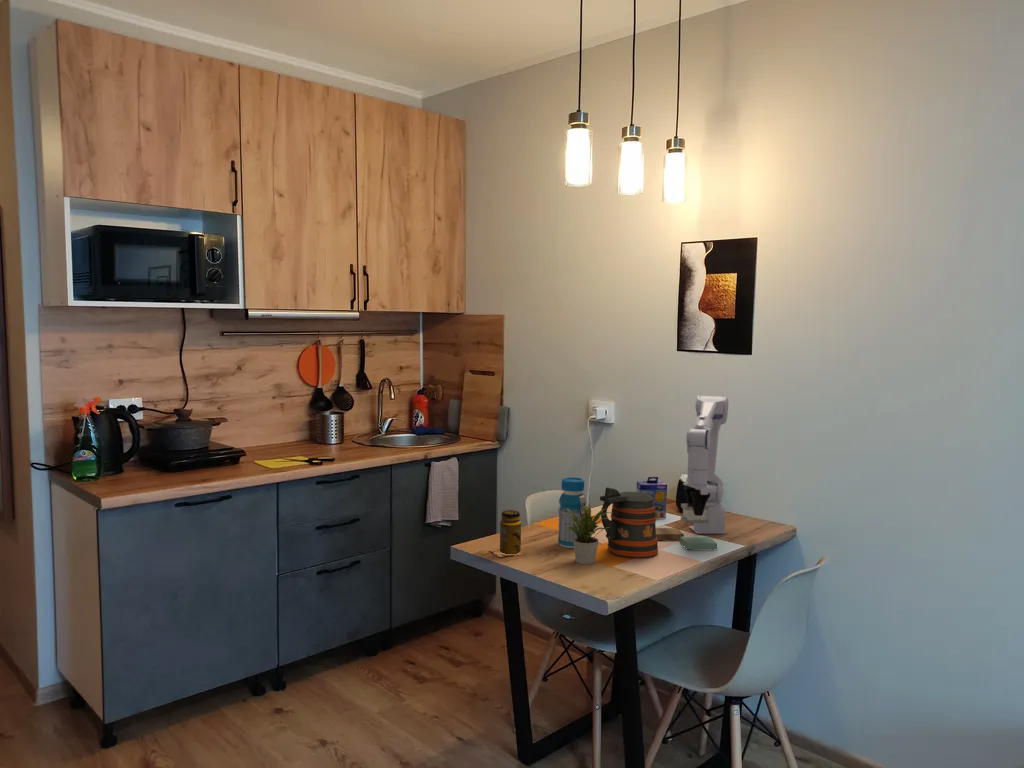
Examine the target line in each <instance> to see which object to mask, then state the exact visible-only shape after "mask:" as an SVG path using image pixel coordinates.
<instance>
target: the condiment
mask: <svg viewBox="0 0 1024 768" xmlns="http://www.w3.org/2000/svg"><path fill="white" fill-rule="evenodd" d="M500 518H501V520H500V525H499V549H500V551H501V552H502V553H505V554H517V553H519V552H520V551H521V550H522V549H521V548H522V546H521V545H522V541H521V540H522V539H521V538H522V537H521V536H522V534H521V533H522V521H521V513H520V512H519V511H518V510H513V509H510V510H509V509H506V510H503V511H502V512H501V517H500Z"/></svg>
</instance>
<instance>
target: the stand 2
mask: <svg viewBox="0 0 1024 768" xmlns="http://www.w3.org/2000/svg"><path fill="white" fill-rule="evenodd" d="M679 543H681V544H682V545H683V546H682V545H681V544H680V545H681V546H682V547H684V546H685V547H686V548H687V549H717V550H718V542H717V541H715V540H714V539H713V538H711V536H684V537H680V540H679ZM685 547H684V548H685ZM686 548H685V549H686ZM687 549H686V550H687Z"/></svg>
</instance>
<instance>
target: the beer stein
mask: <svg viewBox="0 0 1024 768" xmlns="http://www.w3.org/2000/svg"><path fill="white" fill-rule="evenodd" d="M653 500H654V499H653V497H651V495H650V492H648V493H640V492H636V491H621V492H619V491H618V490H617V489H616V488H612V487H605V490H604V495H600V496H599V501H601V502H603V504H602V507H601V510H603V509H605V508H607V509H605V510H604V511H603V512H604V513H606V512H608V508H609V507H610V505H612V506H611V507H612V508H611V511H610V512H614V513H610V519H609V518H608V513H606V514H604V513H602V514H604V515H602V514H601V515H602V516H601V515H600V516H601V517H600V520H601V519H602V520H601V524H602V526H603V528H605V529H606V530H605V529H604V530H605V532H606V534H605V537H606V539H607V542H608V543H607V551H609V553H612V554H614V555H617V556H619V557H625V558H629V559H631V558H633V559H639V558H642V559H643V558H650V557H654V556H656V555H657V554H658V552H659V550H658V549H659V547H658V543H659V541H658V540H657V536H656V528H657V527H656V523H657V519H656V512H655V505H654V501H653ZM601 510H600V511H601ZM603 518H608V519H603ZM607 527H609V528H607ZM607 530H608V531H609V532H608V531H607Z"/></svg>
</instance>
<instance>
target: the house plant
mask: <svg viewBox="0 0 1024 768" xmlns="http://www.w3.org/2000/svg"><path fill="white" fill-rule="evenodd" d="M582 506H583V505H582ZM585 507H586V508H585V509H584V506H583V510H584V516H583V517H582V518H580V524H579V521H578V519H577V517H576V515H575V514H574V513H573V512H572V511H571V510H570V509H568V508H566V509H568V510H569V512H570V513H571V515H572V516H573V518H574V519H573V518H572V517H571V516H570V515H569V514H568V515H569V516H570V517H571V518H572V519H573V520H574V521H575V522H574V521H573V526H574V527H571V526H569V527H568V529H567V530H573V531H574V532H575V533H576V535H577V537H575V538H574V539H573V543H574V548H573V549H574V556H575V557H574V558H575V562H576V563H577V564H580V565H586V566H587V565H593V564H594V563H596V556H597V551H598V545H599V539H598V538H596V536H597V535H598V534H599V533H601V532H602V531H603V530H605V531H606V529H605V528H604V527H599V525H598V524H599V523H600V522H602V519H601V516H602V515H604V514H606V513H607V514H611V513H614V512H611V511H610V512H609V511H607V512H606V513H604V512H603V511H604V510H605V509H607V508H605V509H603V510H600V511H598V512H597V513H596V514H595V515H592V509H591V504H588V505H587V506H585ZM607 510H608V509H607ZM602 513H604V514H602ZM601 514H602V515H601ZM603 519H609V518H603ZM575 523H576V524H577V526H578V528H579V530H580V532H581V534H582V536H581V534H580V532H579V530H578V528H577V526H576V524H575ZM580 525H581V526H580ZM607 528H609V527H607ZM598 530H600V531H599V532H597V533H596V531H598ZM607 531H608V530H607ZM608 532H609V531H608ZM594 534H595V535H594ZM592 535H594V536H592Z"/></svg>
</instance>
